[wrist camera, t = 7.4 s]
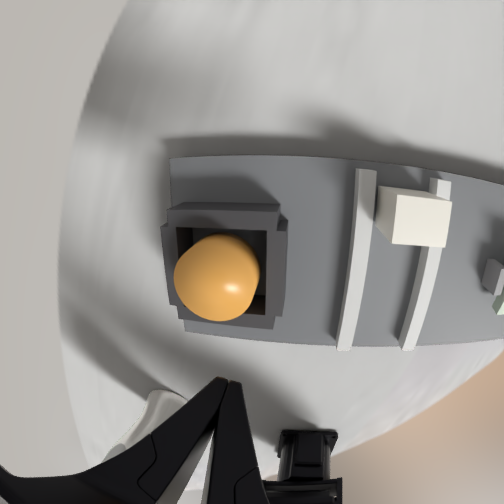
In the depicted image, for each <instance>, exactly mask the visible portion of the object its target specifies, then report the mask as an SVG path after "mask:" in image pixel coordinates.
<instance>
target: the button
mask: <svg viewBox="0 0 504 504" xmlns="http://www.w3.org/2000/svg"><path fill="white" fill-rule="evenodd" d="M260 275H261V265H260V261H259V258H258V255H257V253H256V252H255V250H254V249H253V247H252V246H251V245H250V244H249V243H248V242H247V241H245V240H244V239H243V238H241V237H239V236H237V235H234V234H231V233H227V232H216V233H212V234H209V235H206V236H204V237H203V238H201V239H200V240H199V241H198V242H197V243H196V244H194V245H193V246H192V247H191V248H190V249H189V250H188V251H187V252H185V253H184V254H183V255H182V256H181V257H180V259H179V260H178V262H177V264H176V267H175V270H174V285H175V289H176V292H177V294H178V296H179V298H180V299H181V301H182V302H183V303H184V305H185V306H186V307H187V308H188V309H189V310H191V311H192V312H193V313H195V314H196V315H198V316H200V317H202V318H205V319H208V320H213V321H227V320H231V319H234V318H236V317H238V316H240V315H241V314H243V313H244V312H245V311H246V310H247V308H248V307H249V305H250V304H251V301H252V299H253V296H254V293H255V291H256V288H257V285H258V282H259V279H260Z"/></svg>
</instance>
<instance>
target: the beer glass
mask: <svg viewBox="0 0 504 504" xmlns="http://www.w3.org/2000/svg"><path fill="white" fill-rule="evenodd" d="M187 402H188V401H187V400H186V399H184V398H183V397H181V396H180V395H178V394H176V393H173V392H171V391H167V390H153V391H152V392H150V393H149V395H148V398H147V401H146V404H145V407H144V409H143V411H142V413H141V415H140V417H139V418H138V419H137V421H136V422H135V423H134V424H133V425H132V426H131V428H130V429H129V430H128V431H127V432H126V433H125V434H124V435H123V436H122V437H121V438H120V439H119V440H118V441H117V442H116V443H115V445H114V446H113V447H112V448H111V449H110V451H109V452H108V453H107V455H106V456H105V458H104V459H103V461H102V463H103V462H105V461H107V460H109V459H111V458H112V457H114V456H116V455H118V454H120V453H121V452H123V451H125V450H127V449H128V448H130V447H131V446H133V445H134V444H136V443H137V442H138V441H140V440H141V439H142V438H144V437H145V436H146V435H148V434H151V432H152V431H153V430H154V429H155V428H157V427H158V426H159V425H160V424H162V423H163V422H164V421H165V420H166V419H168V418H169V417H170V416H171V415H173V414H174V413H175V412H176V411H177V410H179V409H180V408H181V407H182V406H183V405H185V404H186V403H187Z"/></svg>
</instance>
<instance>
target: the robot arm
mask: <svg viewBox="0 0 504 504" xmlns="http://www.w3.org/2000/svg"><path fill="white" fill-rule="evenodd" d="M213 431H214V433H213ZM212 434H213V437H212V442H211V448H210V453H209V459H208V465H207V471H206V477H205V483H204V489H203V495H202V501H201V504H342V477H341V478H337V479H330V455H331V452H332V450H333V448H334V446H335V443H336V441H337V439H338V433H336V432H305V431H289V430H283V431H281V434H280V441H279V448H278V455H277V457H278V458H280V464H279V471H278V477H277V481H266V480H262V479H261V475H260V471H259V467H258V463H257V458H256V453H255V449H254V444H253V439H252V434H251V429H250V424H249V420H248V415H247V409H246V404H245V399H244V394H243V389H242V384H241V383H240V382H236V381H233V380H230V381H228V379H226V378H222V377H216V378H214V379H213V380H212V381H211V382H210V383H209V384H208V385H207V386H205V387H204V388H203V389H202V390H201V391H200V392H199V393H197V394H196V395H195V396H194V397H193V398H192V399H190V400H189V401H188V402H187V403H186V404H185V405H183V406H182V407H181V408H180V409H179V410H177V411H176V412H175V413H174V414H173V415H171V416H170V417H169V418H168V419H166V420H165V421H164V422H163V423H162V424H160V425H159V426H158V427H157V428H155V429H154V430H153V431H152V432H151V434H148V435H146V436H145V437H144V438H142V439H141V440H140V441H138V442H137V443H136V444H134V445H133V446H131V447H130V448H128V449H127V450H125V451H123V452H121V453H120V454H118V455H116V456H114V457H112V458H111V459H109V460H107V461H105V462H103V463H101V464H99V465H97V466H95V467H93V468H91V469H88V470H86V471H84V472H81V473H78V474H74V475H67V476H55V477H34V478H24V477H17V476H14V475H12V474H11V473H9V472H8V471H7V470H6V469H5V468H4V467H3V466H1V465H0V504H177V502H178V500H179V498H180V496H181V495H182V493H183V491H184V489H185V487H186V485H187V484H188V482H189V480H190V478H191V476H192V474H193V472H194V470H195V468H196V466H197V464H198V462H199V461H200V459H201V457H202V455H203V453H204V451H205V449H206V447H207V445H208V443H209V441H210V439H211V436H212ZM333 496H337V497H335V498H334V497H333Z"/></svg>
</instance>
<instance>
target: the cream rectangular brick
mask: <svg viewBox="0 0 504 504" xmlns="http://www.w3.org/2000/svg"><path fill="white" fill-rule="evenodd" d="M451 208H452V202H451V201H449V200H446V199H444V198H441V197H439V196H436V195H434V194H431V193H428V192H426V191H419V190H411V189H403V188H394V187H385V186H378V198H377V210H376V220H375V226H376V227H377V228H378V229H379V230H380V231H381V232H382V234H383V235H384V236H385V237H386V238H387V239H388V240H389V241H390V242H391V244H403V245H417V246H430V247H442V248H445V246H446V240H447V235H448V229H449V222H450V215H451Z"/></svg>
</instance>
